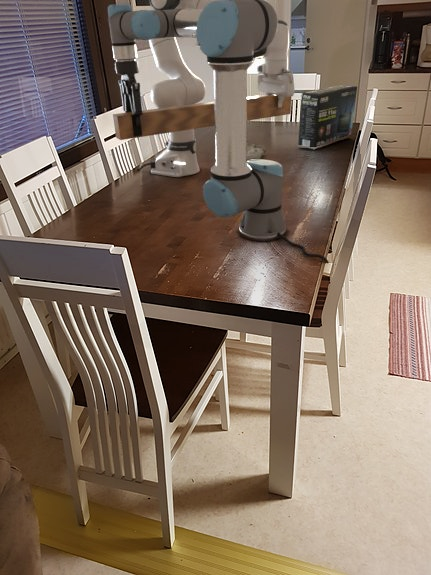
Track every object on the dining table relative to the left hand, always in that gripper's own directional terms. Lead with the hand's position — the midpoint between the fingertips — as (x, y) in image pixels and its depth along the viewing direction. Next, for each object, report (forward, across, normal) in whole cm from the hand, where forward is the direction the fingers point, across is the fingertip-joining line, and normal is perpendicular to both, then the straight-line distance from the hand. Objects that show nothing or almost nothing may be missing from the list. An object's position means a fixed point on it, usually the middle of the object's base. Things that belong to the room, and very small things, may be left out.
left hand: (274, 106), depth 184 cm
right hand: (+3, 0, +60) cm, 60 cm away
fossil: (+29, +31, -7) cm, 43 cm away
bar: (+3, 0, +30) cm, 30 cm away
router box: (+29, +30, -56) cm, 70 cm away
